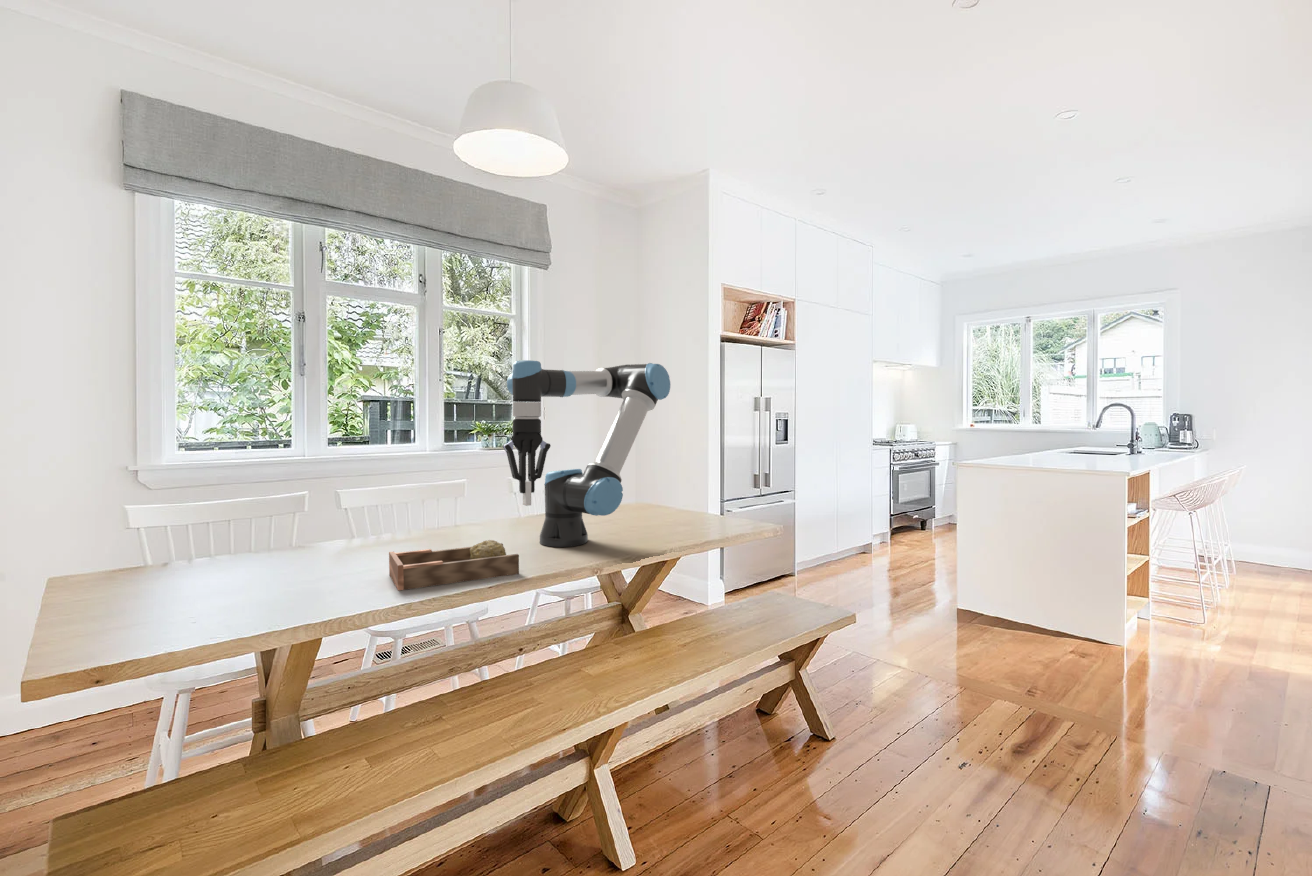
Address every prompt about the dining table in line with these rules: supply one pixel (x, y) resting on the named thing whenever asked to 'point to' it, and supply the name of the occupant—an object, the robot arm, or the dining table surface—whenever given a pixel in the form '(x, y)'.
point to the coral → (487, 550)
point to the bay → (446, 567)
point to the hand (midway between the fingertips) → (527, 504)
